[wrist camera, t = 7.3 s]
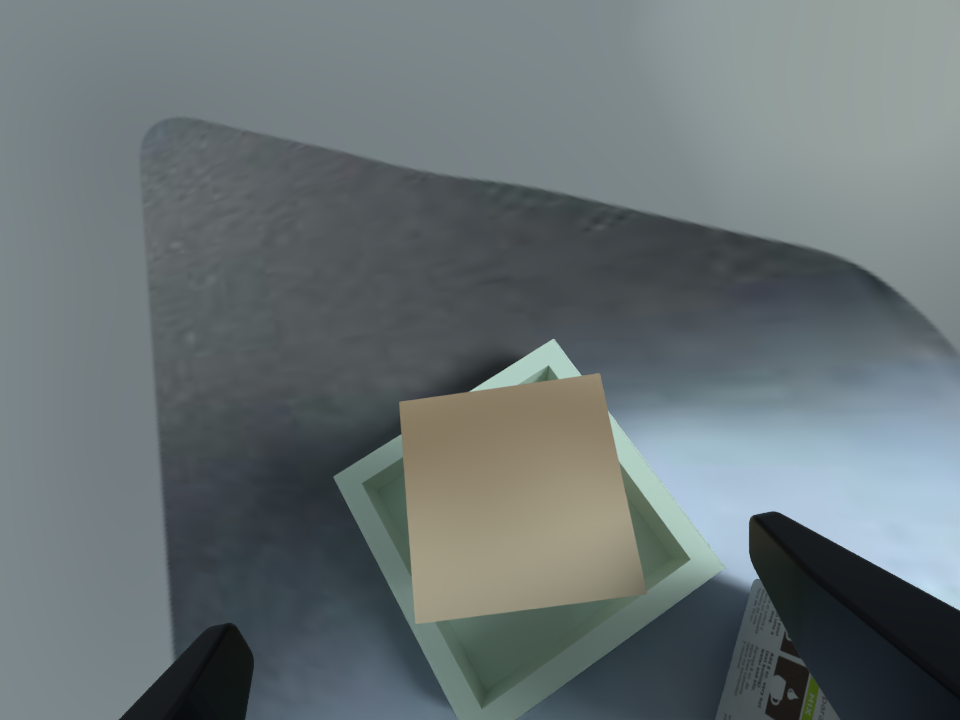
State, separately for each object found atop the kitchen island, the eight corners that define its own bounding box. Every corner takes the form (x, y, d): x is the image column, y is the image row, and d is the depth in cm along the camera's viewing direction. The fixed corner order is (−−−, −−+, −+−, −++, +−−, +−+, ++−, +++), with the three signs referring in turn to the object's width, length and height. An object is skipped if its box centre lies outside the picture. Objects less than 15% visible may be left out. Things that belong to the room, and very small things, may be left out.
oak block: (578, 570, 20) (647, 593, 9) (475, 584, 20) (414, 623, 9) (560, 466, 22) (599, 373, 10) (463, 479, 22) (399, 401, 10)
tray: (698, 565, 20) (726, 567, 18) (481, 721, 19) (473, 750, 16) (550, 363, 24) (553, 338, 21) (356, 486, 23) (333, 476, 20)
